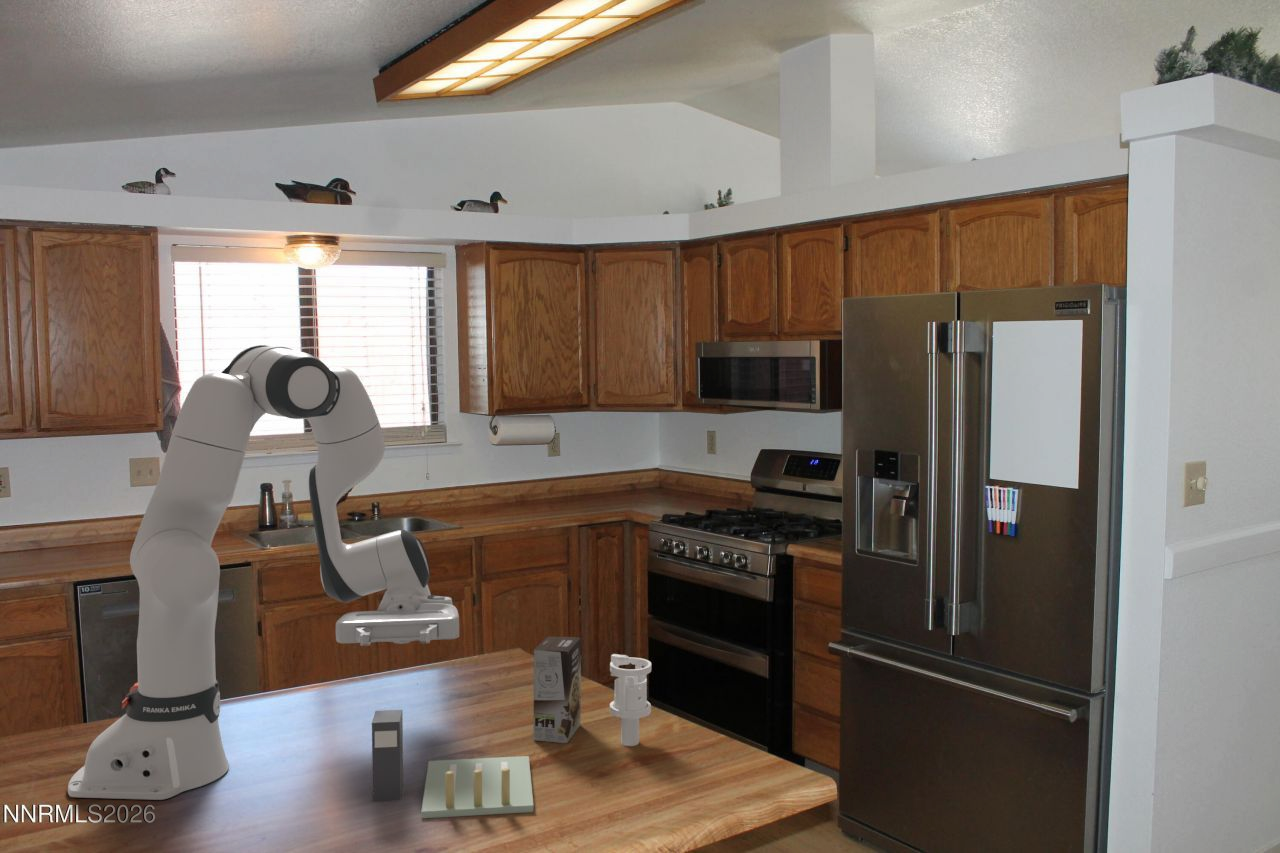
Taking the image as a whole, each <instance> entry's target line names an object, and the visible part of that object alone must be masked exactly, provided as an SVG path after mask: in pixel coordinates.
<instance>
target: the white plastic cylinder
mask: <svg viewBox="0 0 1280 853" xmlns="http://www.w3.org/2000/svg"><path fill="white" fill-rule="evenodd" d="M630 664H631V665H634V666H635V667H634V668H633V669H628V668H620V666H625V665H630ZM609 671H610V676H611V677H617V678H615V679H614V694H613V696H614V697H613V698H614V699H613V700H612V701H611V702H610V703H609V714H611V715H612V716H614V717H616V718H619V719H621V722H620V726H621V727H620V730H621V732H620V736H621V737H620V738H621V739H620V743H621V745H622V746H625V747H635V746H637V745H639V743H640V719H641V718H646V717H647V716H649V715H650V714H651V713H652V705H651V703H650V702H649V701H648V700H647V696H648V695H647V694H648V693H647V692H648V691H647V690H648V686H647V685H648V678H647V675H649V674H650V673H651V672H652V662H651V661H650V660H648V659H646V658H641V657H629V656H628V655H627V654H618V653H612V654H611V655H610V662H609Z"/></svg>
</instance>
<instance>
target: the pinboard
mask: <svg viewBox="0 0 1280 853" xmlns="http://www.w3.org/2000/svg"><path fill="white" fill-rule="evenodd" d="M427 763H428V764H427V770H426V771H427V772H426V778H425V783H424V791H423V798H422V803H421V804H422V805H421V813H420V815H421V819H433V818H434V819H435V818H437V819H438V818H449V817H451V818H452V817H453V818H454V817H468V816H470V817H471V816H486V815H503V814H506V815H507V814H517V813H519V814H521V813H524V814H525V813H534V797H533V786H532V785H533V784H532V776H531V767H530V764H531V763H530V757H529V755H526V756H525V755H521V756H504V757H503V756H501V757H499V756H498V757H480V758H462V759H442V760H441V759H440V760H438V759H437V760H428V762H427Z"/></svg>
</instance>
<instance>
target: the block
mask: <svg viewBox="0 0 1280 853" xmlns="http://www.w3.org/2000/svg"><path fill="white" fill-rule="evenodd" d="M403 727H404V726H403V709H392V710H391V709H390V710H389V709H388V710H387V709H385V710H375V712H374V715H373V718H372V722H371V750H372V751H371V754H372V755H371V758H372V760H371V762H372V763H371V766H372V770H371V771H372V774H371V775H372V802H388V801H401V798H402V793H403V788H404V751H403V750H404V748H403V747H404V742H403V741H404V738H403V737H404V736H403V735H404V732H403Z"/></svg>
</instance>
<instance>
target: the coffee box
mask: <svg viewBox="0 0 1280 853" xmlns="http://www.w3.org/2000/svg"><path fill="white" fill-rule="evenodd" d="M581 664H582V637H574V636H573V637H572V636H549V635H548V636H547V637H546V638H544V640H542V642H540V643H539V644H538V645H537V646H536V647H535V648H534V649H533V725H532V726H533V727H532V728H533V735H532V738H533V739H532V740H533V741H538V742H548V743H557V744H568V742H569V741H570V740H571V738H573V735H574V734H575V733H576V732H577V730H578V729H579V728H580V726H581V717H582V716H581V714H582V710H581V706H582V702H581V701H582V700H581V698H582V696H581V694H582V688H581V686H582V683H581V681H582V674H581V673H582V671H581V670H582V666H581Z"/></svg>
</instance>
